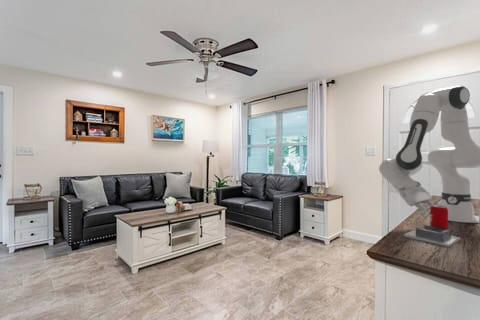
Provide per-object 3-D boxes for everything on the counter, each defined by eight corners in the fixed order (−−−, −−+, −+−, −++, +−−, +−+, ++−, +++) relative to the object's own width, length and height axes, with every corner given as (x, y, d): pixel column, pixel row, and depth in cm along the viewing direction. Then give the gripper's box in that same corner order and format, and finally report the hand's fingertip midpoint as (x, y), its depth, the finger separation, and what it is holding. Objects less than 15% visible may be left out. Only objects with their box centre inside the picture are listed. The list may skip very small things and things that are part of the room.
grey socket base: (417, 230, 112) (417, 222, 112) (460, 239, 100) (460, 230, 100) (404, 236, 104) (404, 227, 104) (448, 247, 92) (448, 236, 92)
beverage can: (441, 230, 113) (441, 204, 113) (451, 234, 107) (451, 207, 106) (426, 230, 113) (427, 204, 113) (436, 234, 107) (436, 207, 107)
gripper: (402, 184, 112) (427, 209, 104) (420, 182, 124) (444, 204, 116) (392, 192, 116) (415, 217, 108) (410, 189, 128) (432, 212, 120)
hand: (430, 210), depth 112 cm, fingers open, 8 cm apart
